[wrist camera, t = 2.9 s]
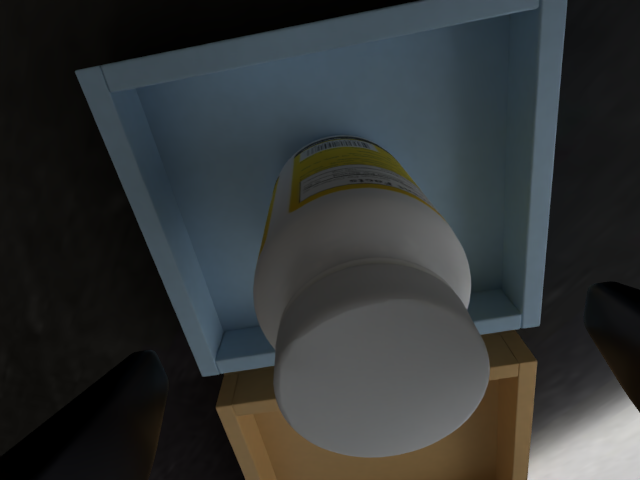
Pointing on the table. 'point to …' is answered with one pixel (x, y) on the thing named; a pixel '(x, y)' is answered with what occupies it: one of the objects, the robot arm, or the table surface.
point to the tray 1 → (340, 119)
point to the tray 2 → (399, 470)
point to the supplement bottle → (365, 304)
